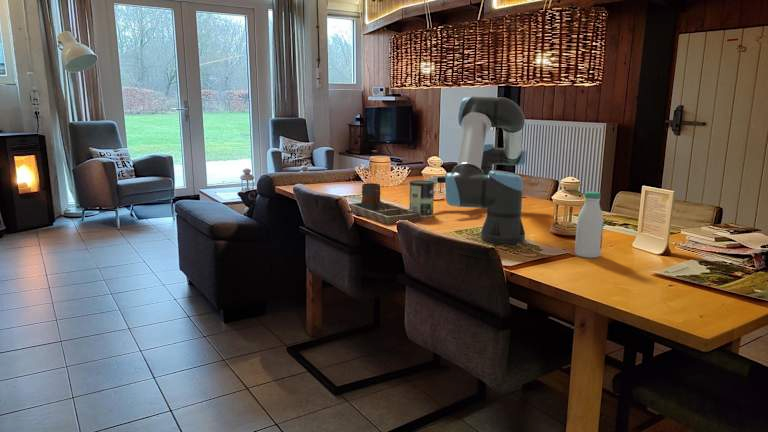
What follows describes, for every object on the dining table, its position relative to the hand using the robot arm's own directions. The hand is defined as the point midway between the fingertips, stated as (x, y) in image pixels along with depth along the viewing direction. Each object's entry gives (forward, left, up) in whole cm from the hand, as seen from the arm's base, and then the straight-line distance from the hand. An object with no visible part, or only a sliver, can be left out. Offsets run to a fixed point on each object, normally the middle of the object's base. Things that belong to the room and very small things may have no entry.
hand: (438, 183), depth 238 cm
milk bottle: (-74, -26, -13) cm, 80 cm away
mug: (+4, +28, -13) cm, 31 cm away
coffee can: (-5, +9, -13) cm, 16 cm away
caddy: (-4, +25, -12) cm, 28 cm away
